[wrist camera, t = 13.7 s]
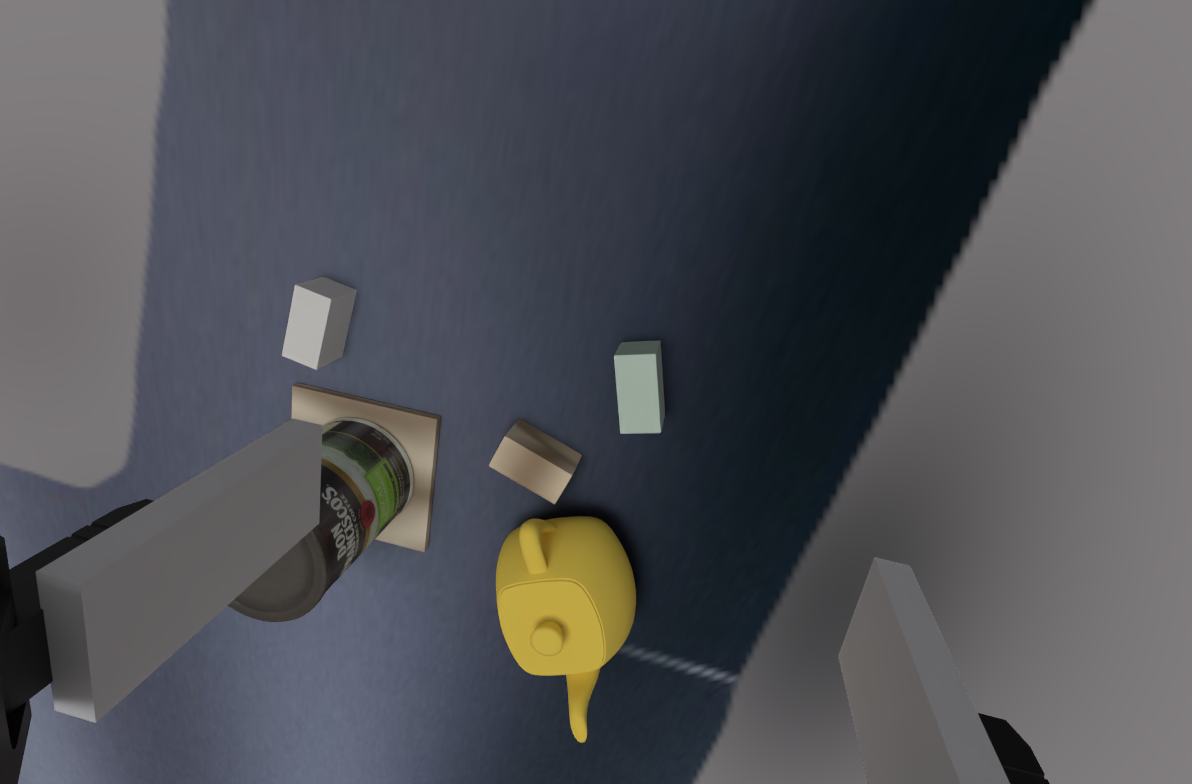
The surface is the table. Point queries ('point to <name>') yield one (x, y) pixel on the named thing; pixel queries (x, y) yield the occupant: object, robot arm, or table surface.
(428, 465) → the trivet
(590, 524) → the teapot
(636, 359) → the pale green brick
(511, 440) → the beech brick
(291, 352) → the off-white brick
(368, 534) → the coffee can
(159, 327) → the table surface
